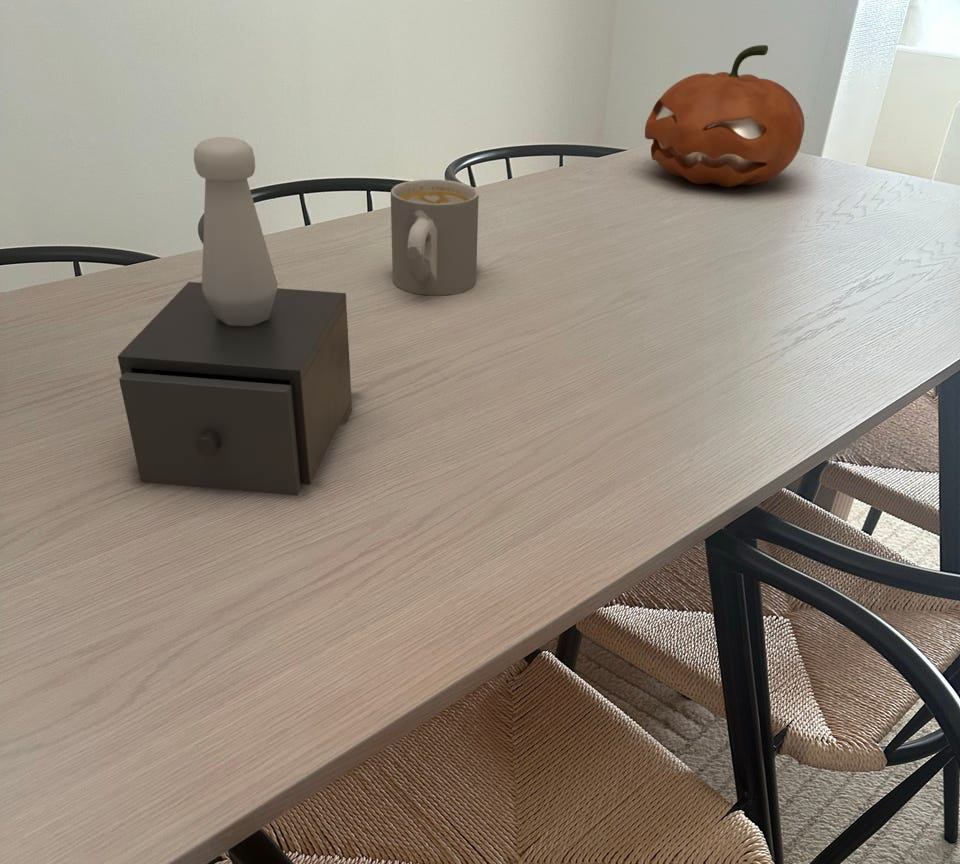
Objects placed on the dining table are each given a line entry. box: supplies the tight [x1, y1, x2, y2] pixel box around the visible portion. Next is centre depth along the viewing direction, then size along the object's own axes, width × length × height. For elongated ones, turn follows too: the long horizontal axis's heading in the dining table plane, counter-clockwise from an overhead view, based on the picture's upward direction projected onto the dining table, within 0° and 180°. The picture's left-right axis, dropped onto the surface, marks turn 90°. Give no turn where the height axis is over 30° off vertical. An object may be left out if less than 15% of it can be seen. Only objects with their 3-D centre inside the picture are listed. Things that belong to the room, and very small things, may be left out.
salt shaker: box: [193, 136, 278, 326], centre depth 75 cm, size 6×6×13 cm
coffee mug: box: [390, 179, 479, 297], centre depth 113 cm, size 13×10×10 cm
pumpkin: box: [644, 44, 806, 188], centre depth 151 cm, size 25×25×19 cm
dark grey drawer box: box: [117, 281, 353, 486], centre depth 82 cm, size 16×14×11 cm
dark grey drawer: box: [118, 369, 302, 496], centre depth 80 cm, size 16×13×9 cm
